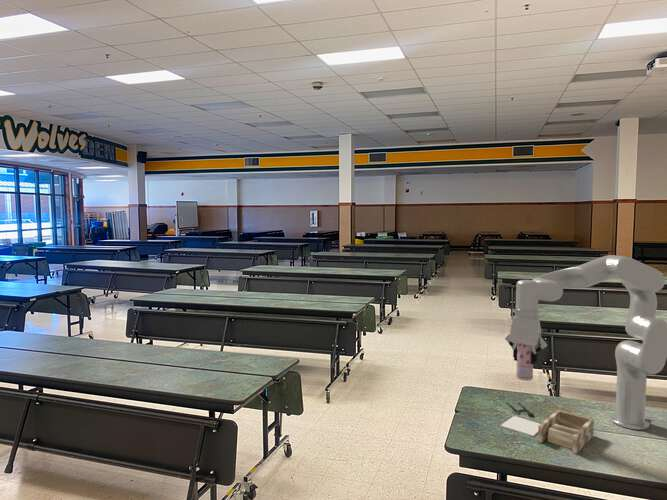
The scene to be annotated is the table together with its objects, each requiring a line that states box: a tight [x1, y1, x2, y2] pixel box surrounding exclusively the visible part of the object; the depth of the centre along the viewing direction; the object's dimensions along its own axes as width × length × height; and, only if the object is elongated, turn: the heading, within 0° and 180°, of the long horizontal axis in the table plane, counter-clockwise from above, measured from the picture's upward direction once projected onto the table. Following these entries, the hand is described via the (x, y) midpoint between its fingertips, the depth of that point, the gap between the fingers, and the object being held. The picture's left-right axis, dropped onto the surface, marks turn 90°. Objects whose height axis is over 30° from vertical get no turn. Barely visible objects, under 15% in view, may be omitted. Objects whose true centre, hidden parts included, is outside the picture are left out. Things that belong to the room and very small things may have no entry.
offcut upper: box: [548, 424, 578, 443], centre depth 164 cm, size 6×8×2 cm
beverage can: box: [515, 342, 534, 382], centre depth 175 cm, size 6×6×15 cm
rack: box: [537, 409, 595, 455], centre depth 166 cm, size 19×12×6 cm, turn 136°
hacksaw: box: [506, 401, 535, 418], centre depth 197 cm, size 24×10×2 cm, turn 1°
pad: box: [500, 415, 541, 438], centre depth 176 cm, size 12×12×1 cm
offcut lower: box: [547, 436, 573, 450], centre depth 164 cm, size 6×8×2 cm
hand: (524, 361), depth 175 cm, fingers closed on beverage can, 5 cm apart
